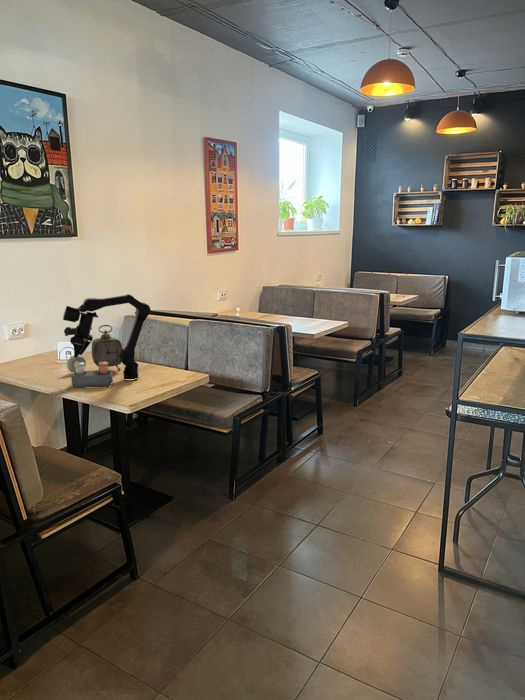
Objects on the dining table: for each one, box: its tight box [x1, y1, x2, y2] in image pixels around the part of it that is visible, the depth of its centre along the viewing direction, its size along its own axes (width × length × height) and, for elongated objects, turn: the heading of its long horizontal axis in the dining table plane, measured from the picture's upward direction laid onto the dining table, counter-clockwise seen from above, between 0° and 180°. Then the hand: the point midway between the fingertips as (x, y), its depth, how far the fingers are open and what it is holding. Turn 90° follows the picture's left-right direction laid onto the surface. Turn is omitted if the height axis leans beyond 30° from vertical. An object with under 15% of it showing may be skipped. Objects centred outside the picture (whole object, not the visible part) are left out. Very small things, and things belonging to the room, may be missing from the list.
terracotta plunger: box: [98, 362, 109, 374], centre depth 245 cm, size 4×4×6 cm
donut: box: [66, 354, 87, 374], centre depth 267 cm, size 10×4×10 cm, turn 138°
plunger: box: [74, 361, 86, 375], centre depth 244 cm, size 4×4×6 cm
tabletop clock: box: [91, 324, 123, 372], centre depth 270 cm, size 14×9×25 cm, turn 118°
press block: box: [71, 369, 114, 389], centre depth 246 cm, size 17×9×6 cm, turn 96°
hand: (78, 356), depth 244 cm, fingers open, 9 cm apart
